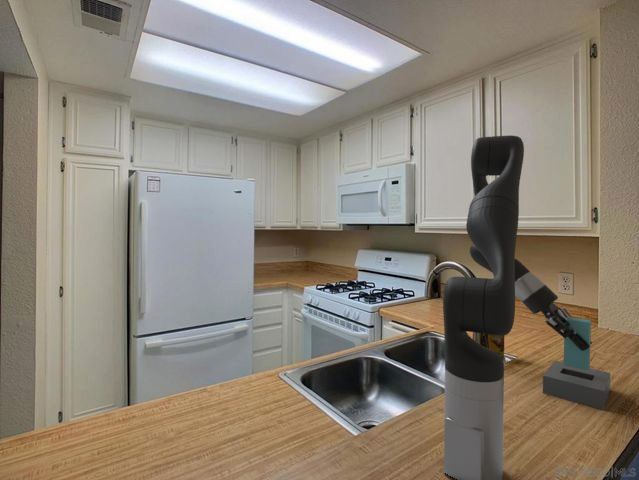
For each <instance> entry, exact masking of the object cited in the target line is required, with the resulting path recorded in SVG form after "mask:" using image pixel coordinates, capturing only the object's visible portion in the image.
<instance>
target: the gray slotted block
mask: <svg viewBox="0 0 639 480" xmlns="http://www.w3.org/2000/svg"><path fill="white" fill-rule="evenodd" d="M610 391H611V372H608V371H603V370H600V369H595V368H591V367H590V368H589V370H588V371H587V370H583V369H579V368H575V367H570V366H566V365H564V361H558V360H553V362H552V363H551V365H550V366H549V367H548V368H547V370H546V371H545V372H544V374H543V375H542V394H545V395H549V396H552V397H556V398H560V399H563V400H566V401H569V402H572V403H573V402H574V403H577V404H581V405H584V406H587V407H591V408H594V409H598V410H601V411H605V408H606V405H607V402H608V398H609V394H610Z"/></svg>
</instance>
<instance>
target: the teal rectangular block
mask: <svg viewBox="0 0 639 480" xmlns="http://www.w3.org/2000/svg"><path fill="white" fill-rule="evenodd" d="M566 318H567V320H568V321H569V322H570V323H571V327H572V328H573V329H574V330H575V331H577V334H579V335H580V336H581V337H582V338H583V339H584V340H585V341H586V342H587V343H588V344H589V345H590V342H591V341H592V340H591V335H592V330H591V329H592V320H591V319H585V318H584V319H583V318H577V317H573V316H571V317H566ZM565 323H566V322H565ZM564 331H565V332H566V331H567V330H566V329H564ZM563 338H564V337H563ZM563 362H564V365H566V366H570V367H575V368H579V369H583V370H587V371H588V370H589V368H591V367H590V366H591V345H590V347H589V348H588V349H586V350H584V351H582V350H580V349H579V348H578V347H577V346H576V345H575V344H574V343H573V342H572V341H571V340H570V338H569V339H568V338H564V339H563Z"/></svg>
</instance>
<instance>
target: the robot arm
mask: <svg viewBox="0 0 639 480" xmlns="http://www.w3.org/2000/svg"><path fill="white" fill-rule="evenodd" d="M524 157H525V146H524V141H523V139H522V138H521V137H520V136H517V135H496V136H495V135H494V136H482V137H477V138H476V139H475V141H474V142H473V145H472V148H471V154H470V169H471V178H472V179H471V180H472V187H473V188H472V189H473V193H474V194H473V195H474V197H473V198H472V200H471V202H470V203H469V207H468V213H467V218H466V225H465V227H466V232H467V235H468V237H469V239H470V241H471V242H472V244H471V246H470V248H469V255H470V257H471V258H472V260H473V261H474V262H475V263H476V264H478V265H479V266H480V267H482V268H484V269H486V270H487V271H489V272H490V273H492V274H493V278H488V277H487V278H485V277H484V278H483V277H471V276H470V277H469V276H451V277H449V278H448V279H447V281H446V282H445V284H444V288H443V292H442V293H443V295H442V312H443V314H442V315H443V327H444V328H443V329H444V331H443V332H444V411H443V412H444V414H443V415H444V418H443V419H444V421H443V422H444V424H443V427H444V428H443V429H444V434H443V473H444V474H445V473H446V474H445V475H447V474H448V475H447V476H449V477H450V476H451V477H450V478H452V477H453V478H452V479H454V478H455V479H454V480H456V479H457V480H503V478H502V477H504V398H505V397H504V395H505V394H504V392H505V391H504V388H505V387H504V386H505V384H504V383H505V381H504V380H505V363H503V360H502V358H501V357H500V356H499V355H498V354H497V353H495V352H493V351H491V350H490V349H488V348H486V347H484V346H483V345H482V344H480V343H479V342H477V341H476V340H475V339H474V338H472V336H470V335H469V333H468V332H470V333H477V334H483V335H484V334H490V335H498V336H504V337H505V336H507V335H508V334H510V333H511V331H512V329H513V327H514V323H515V315H516V298H518V300H519V301H521V302H522V304H523V305H524V306H525V307H527V309H528V310H529V311H530V312H531V313H532V314H534V315H537V314H538V313H540V312H541V314H543V316H544V318H545V323H546V324H547V325H548V326H549V327H550V328H551V329H553V330H554V331H555V332H556V333H558V334H559V335H560V336H562V338H568V339H569V338H570V340H571V341H572V342H573V343H574V344H575V345H576V346H577V347H578V348H579V349H580V350H582V351H584V350H586V349H588V348H589V347H590V348H591V345H592V343H593V341H592V340H591V342H590V345H589V344H588V343H587V342H586V341H585V340H584V339H583V338H582V337H581V336H580V335H579V334H577V331H575V330H574V329H573V328H572V327H571V323H570V322H569V321H568V320H567V318H566V317H572V315H571V314H570V313H569V312H568V311H567V309H566V308H564V307H559V306H558V305H557V304H555V303H554V302H556V301H558V299H559V296H558V295H557V294H555V292H554V291H553V290H551V288H550V287H548V286H547V285H546V284H545V283H544V282H543V281H542V280H541V279H540V278H539V277H538V276H536V275H535V274H534V273H532V272H531V271H530V269H528V268H527V267H526V266H525V265H524V264H523V263H522V262H521V261H519V260H518V259H517V258H516V244H517V234H518V229H519V216H520V215H519V214H520V206H519V205H520V181H521V175H522V170H523V169H522V168H523V164H524ZM487 176H488V177H489V176H491V177H493V176H497V177H496V178H495V179H494V180H492V181H491V182H489V183H488V180H487ZM565 322H566V323H565ZM565 329H566V330H567V331H566V332H565V331H564V330H565Z"/></svg>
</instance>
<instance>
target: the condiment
mask: <svg viewBox="0 0 639 480" xmlns="http://www.w3.org/2000/svg"><path fill="white" fill-rule="evenodd" d="M488 340H489V349H490V350H491V351H493V352H495V353H497V354H498V355H499V356H500V357H501V358H502V360H503V363H504V364H505V363H506V355H505V335H504V336H498V335H490V334H488Z"/></svg>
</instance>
